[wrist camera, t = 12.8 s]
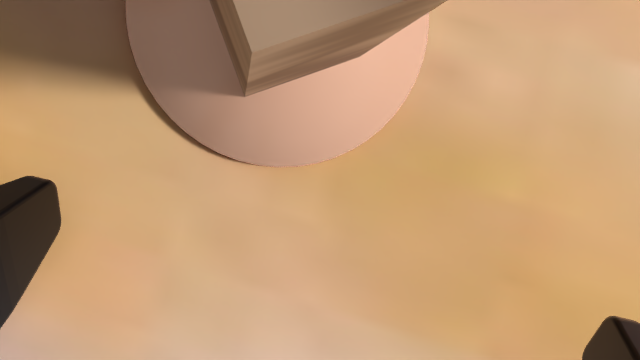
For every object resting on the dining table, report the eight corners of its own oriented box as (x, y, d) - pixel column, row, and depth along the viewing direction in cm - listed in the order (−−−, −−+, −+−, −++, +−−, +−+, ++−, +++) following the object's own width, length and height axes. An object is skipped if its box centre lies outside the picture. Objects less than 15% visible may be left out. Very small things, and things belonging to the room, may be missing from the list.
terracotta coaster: (247, 224, 21) (247, 225, 20) (62, -30, 19) (58, -33, 19) (478, 59, 22) (482, 58, 21) (319, -197, 20) (320, -204, 20)
